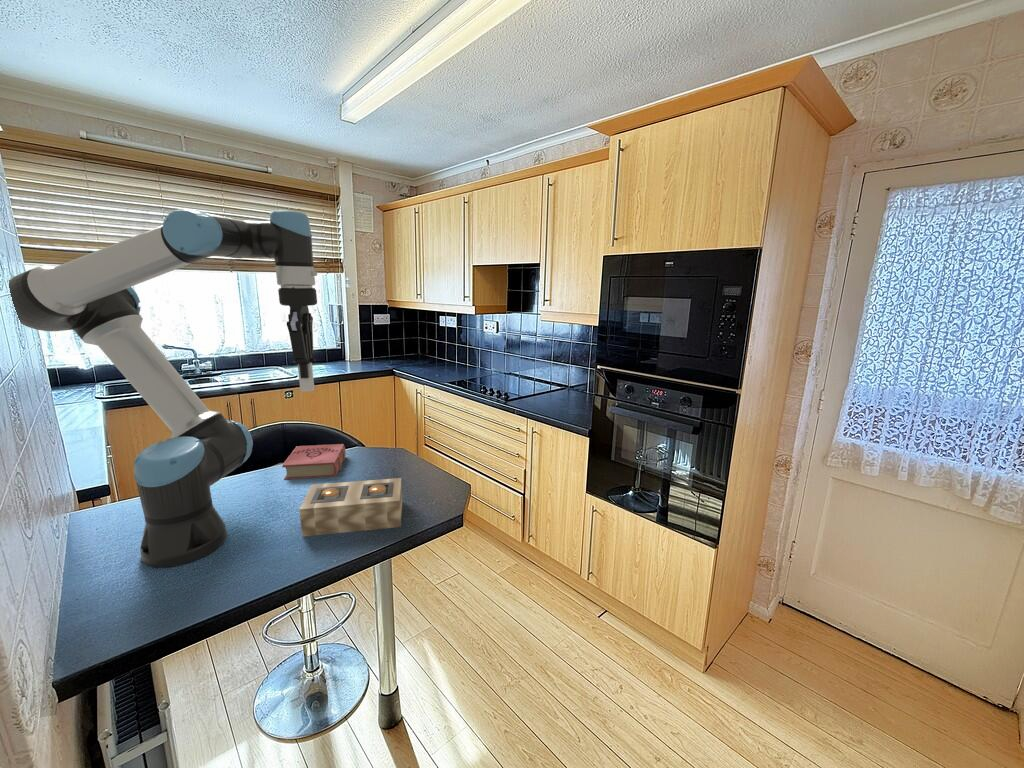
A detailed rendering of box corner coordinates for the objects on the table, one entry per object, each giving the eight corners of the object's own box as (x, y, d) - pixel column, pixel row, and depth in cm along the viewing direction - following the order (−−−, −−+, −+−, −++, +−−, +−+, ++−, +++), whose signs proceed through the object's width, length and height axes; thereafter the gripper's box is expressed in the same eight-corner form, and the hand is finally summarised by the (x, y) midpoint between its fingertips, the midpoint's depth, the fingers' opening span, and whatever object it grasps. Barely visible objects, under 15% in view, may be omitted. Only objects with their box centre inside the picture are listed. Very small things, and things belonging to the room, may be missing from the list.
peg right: (369, 517, 106) (368, 492, 104) (371, 509, 110) (369, 485, 108) (386, 516, 107) (385, 491, 105) (387, 507, 110) (386, 483, 109)
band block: (302, 536, 99) (299, 508, 97) (314, 509, 111) (311, 484, 109) (400, 526, 104) (399, 500, 102) (402, 501, 115) (401, 477, 113)
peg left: (321, 522, 103) (319, 496, 102) (325, 513, 107) (322, 488, 106) (339, 520, 104) (337, 495, 103) (342, 512, 108) (340, 487, 106)
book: (338, 477, 129) (337, 462, 128) (284, 480, 126) (282, 465, 125) (347, 457, 143) (346, 443, 141) (298, 460, 140) (296, 446, 139)
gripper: (308, 288, 89) (318, 397, 95) (321, 286, 101) (330, 383, 107) (268, 287, 87) (281, 399, 93) (287, 285, 100) (297, 384, 106)
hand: (307, 390), depth 100 cm, fingers closed
